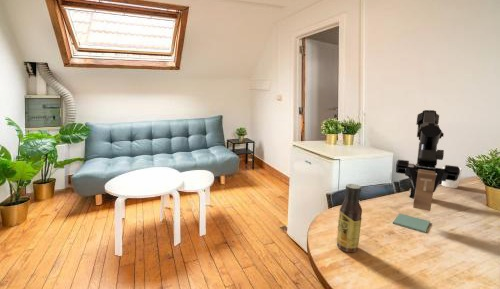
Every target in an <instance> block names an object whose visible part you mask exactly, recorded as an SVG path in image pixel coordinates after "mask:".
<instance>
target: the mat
mask: <svg viewBox="0 0 500 289" xmlns="http://www.w3.org/2000/svg"><path fill="white" fill-rule="evenodd" d="M430 223H431V221H430V220H427V219H422V218H419V217H415V216H412V215H408V214H404V213H401V212H400V213H398V215H397V216H396V217H395V218H394V220H393V221H392V224H393V225H396V226H400V227H404V228H407V229H411V230H414V231H417V232H420V233H424V234H425V233H426V232H427V230H428V228H429V226H430Z"/></svg>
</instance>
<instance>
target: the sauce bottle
mask: <svg viewBox="0 0 500 289" xmlns="http://www.w3.org/2000/svg"><path fill="white" fill-rule="evenodd" d="M361 191H362V187H361V186H360V185H359V184H355V183H348V184H346V185H345V197H344V200H343V202H342V204H341V206H340V208H339V212H338V222H337V223H338V224H337V233H336V245H337V248H338V249H339V250H341V251H342V252H345V253H354V252H357V251H358V247H359V244H360V235H361V227H362V215H363V209H362V208H363V207H362V206H361V204H360V193H361Z"/></svg>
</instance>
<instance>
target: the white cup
mask: <svg viewBox="0 0 500 289" xmlns="http://www.w3.org/2000/svg"><path fill="white" fill-rule="evenodd" d="M444 168H445V165H443V166H442V169H444ZM459 168H460V173H459V176H458V179H457V180H456V181H452V180H446V181H442V182H441V186H442V187H446V188H450V189H457V188H458V186H459V183H460V180H461V175H462V170H463V168H461V167H459Z"/></svg>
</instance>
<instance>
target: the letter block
mask: <svg viewBox="0 0 500 289" xmlns="http://www.w3.org/2000/svg"><path fill="white" fill-rule="evenodd" d="M436 176H437V174H436V172H435V171H430V170H422V169H418V175H417V182H416V189H415V196H414V198H413V203H412V205H413V207H412V208H413V209H418V210H424V211H427V212H431V209H432V208H431V207H432V202H433V195H434V192H433V191H434V185H435V179H436Z"/></svg>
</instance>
